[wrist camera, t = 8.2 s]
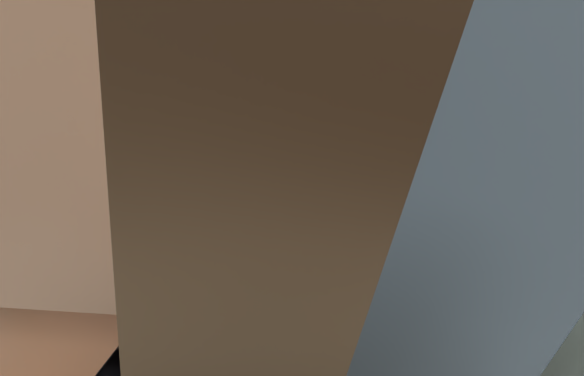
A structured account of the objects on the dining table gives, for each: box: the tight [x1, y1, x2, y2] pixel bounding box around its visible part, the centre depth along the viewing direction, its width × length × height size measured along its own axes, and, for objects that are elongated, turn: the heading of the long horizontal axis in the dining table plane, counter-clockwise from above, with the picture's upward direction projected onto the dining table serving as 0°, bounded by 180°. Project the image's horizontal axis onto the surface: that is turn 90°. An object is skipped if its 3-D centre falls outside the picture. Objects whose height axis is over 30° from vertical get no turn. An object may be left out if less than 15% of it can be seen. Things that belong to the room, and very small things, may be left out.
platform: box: [346, 0, 584, 376], centre depth 12 cm, size 18×12×3 cm, turn 172°
